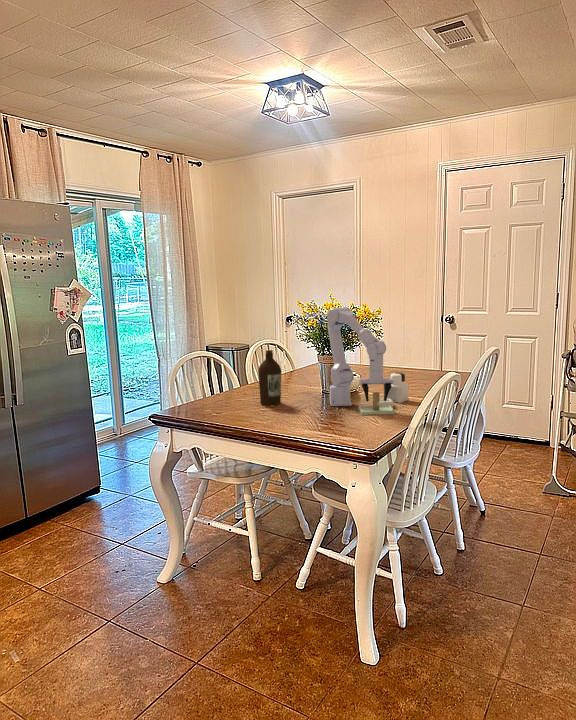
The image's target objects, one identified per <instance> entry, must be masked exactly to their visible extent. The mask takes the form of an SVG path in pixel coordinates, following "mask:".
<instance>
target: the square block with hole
mask: <svg viewBox="0 0 576 720" xmlns="http://www.w3.org/2000/svg"><path fill="white" fill-rule="evenodd" d="M382 405H390V406H391V407H392V408H393V409H394V402H393V401H392V400H391V399H390V398H387V400H386V401H384V398H379V406H382Z"/></svg>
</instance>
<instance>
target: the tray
mask: <svg viewBox="0 0 576 720" xmlns="http://www.w3.org/2000/svg"><path fill="white" fill-rule="evenodd" d="M357 409H358V411H359V413H360V415H362V416H367V415H368V414H370V415H371V416H372V414H373V415H374V414H379V415H395V413H396V411H395V409H394V407H393V408H392V407H391V406H390V405H382V406H379V410H377V411H375V410H373V405H358V407H357ZM370 415H368V416H370ZM374 416H375V415H374Z"/></svg>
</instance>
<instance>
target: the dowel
mask: <svg viewBox="0 0 576 720" xmlns="http://www.w3.org/2000/svg"><path fill="white" fill-rule="evenodd" d="M379 399H380V392H379V391H373V392H372V406H373V410H375V411H377V410H379Z"/></svg>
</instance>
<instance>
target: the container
mask: <svg viewBox="0 0 576 720" xmlns="http://www.w3.org/2000/svg"><path fill="white" fill-rule="evenodd" d="M390 379H393V380H394V384H391V385H392V386H391V389H390V391H389V393H388V396H387V398H390V399H391V400H392V401H393V403H397V402H398V403H397V404H403V403H404V401H405V402H407V401H409V391H410V389H409V383H406V374H405V373H403V372H392V373H391V374H390Z"/></svg>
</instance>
